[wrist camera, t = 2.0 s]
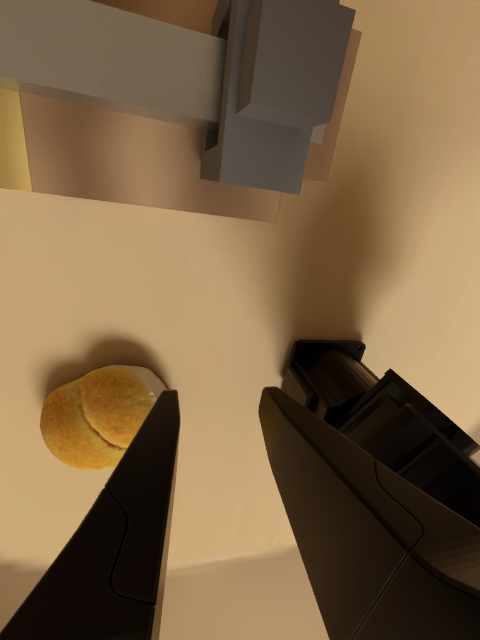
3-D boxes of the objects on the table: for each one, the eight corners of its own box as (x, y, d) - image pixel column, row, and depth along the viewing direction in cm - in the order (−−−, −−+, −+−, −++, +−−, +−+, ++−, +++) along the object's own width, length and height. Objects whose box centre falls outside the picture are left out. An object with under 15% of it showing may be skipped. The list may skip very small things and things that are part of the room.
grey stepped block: (275, 39, 14) (393, -103, 7) (253, 187, 17) (321, 198, 9) (212, 20, 13) (269, -164, 6) (199, 178, 16) (229, 184, 9)
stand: (306, 19, 15) (385, -66, 10) (270, 220, 19) (312, 239, 14) (-231, -160, 10) (-698, -553, 5) (-123, 169, 14) (-303, 168, 9)
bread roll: (23, 400, 21) (-5, 444, 18) (134, 342, 21) (128, 375, 18) (97, 462, 25) (86, 508, 22) (190, 413, 25) (194, 452, 22)
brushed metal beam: (309, 81, 13) (344, 59, 11) (294, 155, 15) (323, 152, 12) (-281, -78, 9) (-477, -190, 6) (-229, 53, 10) (-372, 10, 7)
